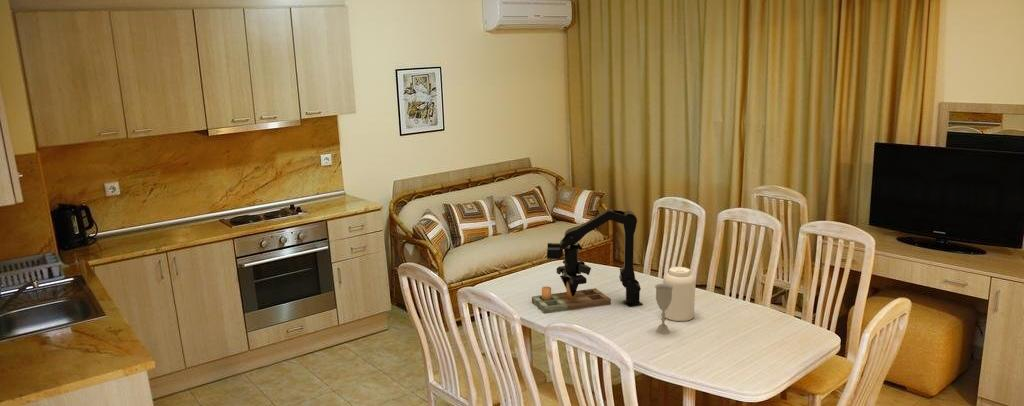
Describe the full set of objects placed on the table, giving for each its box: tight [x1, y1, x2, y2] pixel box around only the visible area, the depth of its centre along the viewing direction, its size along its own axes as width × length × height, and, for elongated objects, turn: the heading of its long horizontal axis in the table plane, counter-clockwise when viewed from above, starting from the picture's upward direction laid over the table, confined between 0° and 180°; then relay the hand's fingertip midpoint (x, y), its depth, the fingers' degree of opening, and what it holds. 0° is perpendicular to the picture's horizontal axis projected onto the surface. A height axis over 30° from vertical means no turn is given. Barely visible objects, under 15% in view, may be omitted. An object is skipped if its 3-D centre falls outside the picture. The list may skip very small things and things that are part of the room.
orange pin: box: [565, 282, 576, 299], centre depth 319 cm, size 4×4×7 cm
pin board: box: [531, 288, 612, 314], centre depth 320 cm, size 15×30×2 cm, turn 109°
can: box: [662, 266, 696, 322], centre depth 301 cm, size 12×12×20 cm
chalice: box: [654, 283, 673, 335], centre depth 285 cm, size 7×7×18 cm
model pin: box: [541, 286, 552, 301], centre depth 319 cm, size 4×4×7 cm
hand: (571, 294), depth 319 cm, fingers closed on orange pin, 4 cm apart
